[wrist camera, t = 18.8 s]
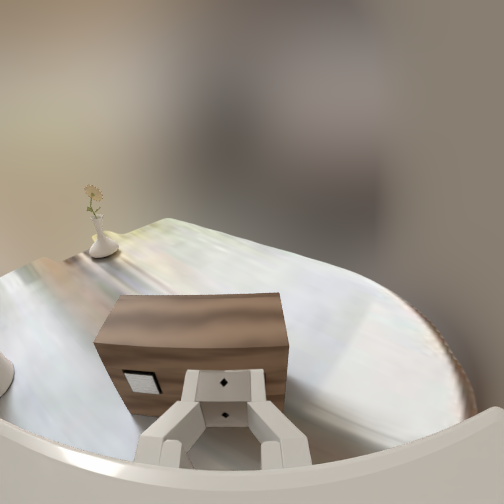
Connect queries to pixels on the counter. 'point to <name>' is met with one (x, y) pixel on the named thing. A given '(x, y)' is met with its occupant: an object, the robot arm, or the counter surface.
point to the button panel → (193, 343)
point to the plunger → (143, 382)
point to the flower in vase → (99, 228)
